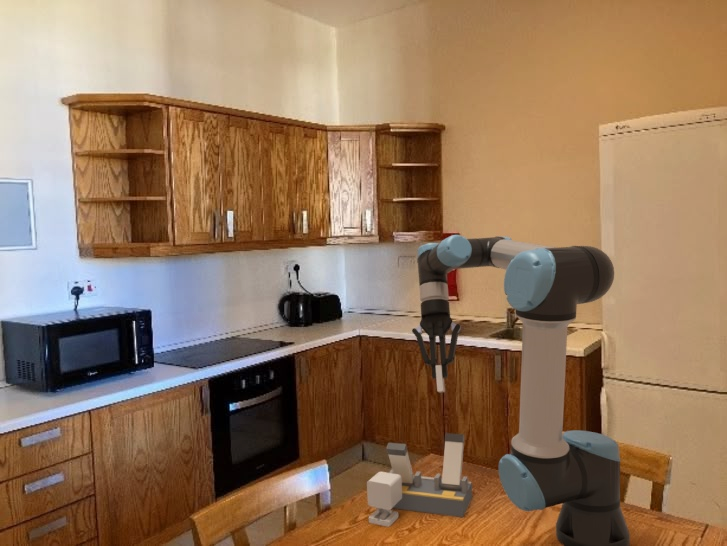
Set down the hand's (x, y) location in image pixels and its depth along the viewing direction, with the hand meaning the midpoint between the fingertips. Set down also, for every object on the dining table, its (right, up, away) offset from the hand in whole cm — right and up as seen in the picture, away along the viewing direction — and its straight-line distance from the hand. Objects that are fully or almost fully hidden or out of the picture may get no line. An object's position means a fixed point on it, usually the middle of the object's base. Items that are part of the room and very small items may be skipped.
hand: (441, 391), depth 158 cm
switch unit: (-3, -28, 0) cm, 28 cm away
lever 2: (+2, -23, -3) cm, 23 cm away
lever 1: (-9, -23, +2) cm, 25 cm away
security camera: (-14, -29, -7) cm, 34 cm away
